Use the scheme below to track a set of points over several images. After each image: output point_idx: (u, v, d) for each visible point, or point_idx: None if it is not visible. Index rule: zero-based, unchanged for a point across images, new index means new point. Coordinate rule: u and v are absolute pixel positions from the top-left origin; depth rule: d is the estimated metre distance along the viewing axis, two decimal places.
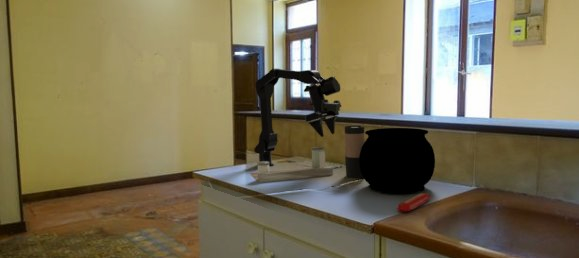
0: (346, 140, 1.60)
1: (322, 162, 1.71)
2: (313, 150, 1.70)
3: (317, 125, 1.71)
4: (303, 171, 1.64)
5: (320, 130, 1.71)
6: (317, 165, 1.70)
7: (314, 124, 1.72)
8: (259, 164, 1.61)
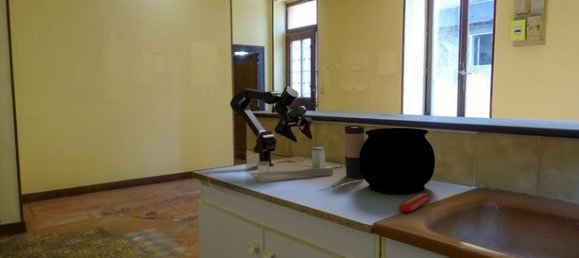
0: (346, 140, 1.60)
1: (322, 162, 1.71)
2: (313, 150, 1.70)
3: (288, 133, 1.75)
4: (303, 171, 1.64)
5: (292, 136, 1.74)
6: (317, 165, 1.70)
7: (285, 133, 1.76)
8: (259, 164, 1.61)
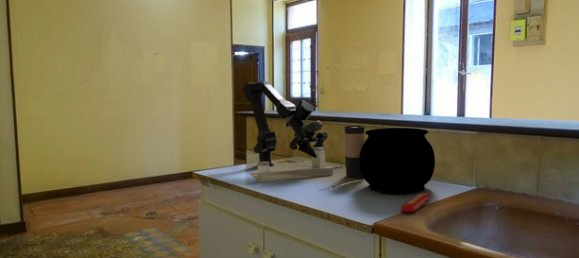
0: (346, 140, 1.60)
1: (322, 162, 1.71)
2: None
3: (307, 148, 1.71)
4: (303, 171, 1.64)
5: (311, 151, 1.69)
6: (317, 165, 1.70)
7: (304, 149, 1.71)
8: (259, 164, 1.61)
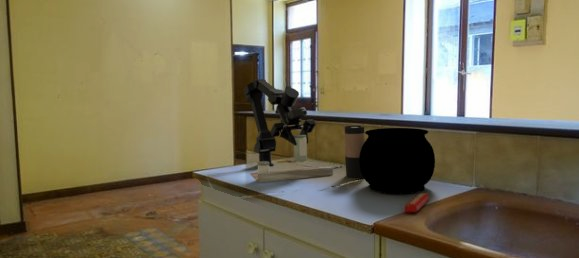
0: (346, 140, 1.60)
1: (303, 150, 1.65)
2: (294, 137, 1.66)
3: (288, 135, 1.67)
4: (303, 171, 1.64)
5: (291, 139, 1.65)
6: (297, 153, 1.65)
7: (286, 136, 1.68)
8: (259, 164, 1.61)
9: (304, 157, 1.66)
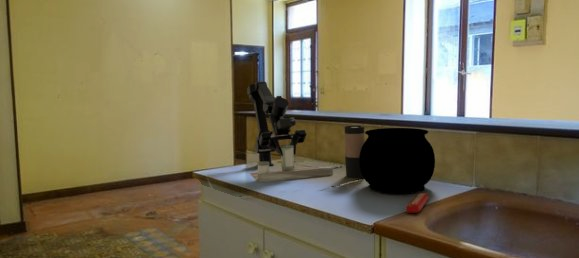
0: (346, 140, 1.60)
1: (289, 161, 1.64)
2: (281, 148, 1.65)
3: (276, 145, 1.66)
4: (303, 171, 1.64)
5: (278, 149, 1.65)
6: (283, 164, 1.64)
7: (274, 146, 1.67)
8: (259, 164, 1.61)
9: (290, 168, 1.64)
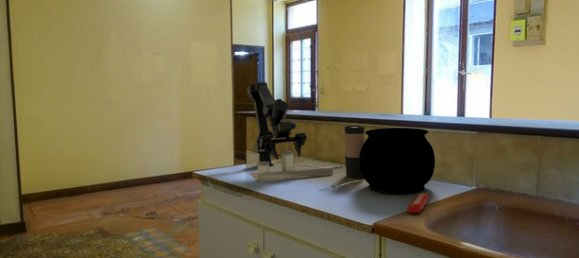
0: (346, 140, 1.60)
1: (289, 167, 1.64)
2: (281, 153, 1.65)
3: (271, 149, 1.66)
4: (303, 171, 1.64)
5: (273, 153, 1.64)
6: (284, 170, 1.65)
7: (269, 149, 1.67)
8: (259, 164, 1.61)
9: None
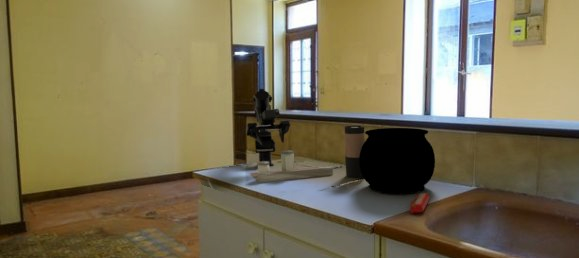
0: (346, 140, 1.60)
1: (289, 167, 1.64)
2: (281, 153, 1.65)
3: (256, 135, 1.77)
4: (303, 171, 1.64)
5: (258, 138, 1.76)
6: (284, 170, 1.65)
7: (255, 135, 1.78)
8: (259, 164, 1.61)
9: None
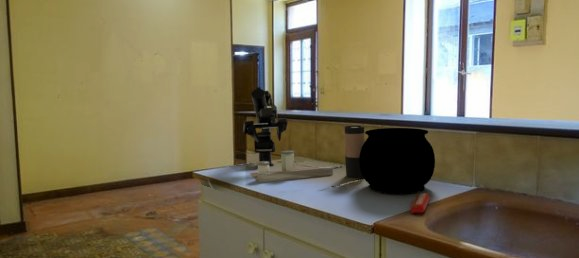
0: (346, 140, 1.60)
1: (289, 167, 1.64)
2: (281, 153, 1.65)
3: (253, 133, 1.78)
4: (303, 171, 1.64)
5: (255, 136, 1.76)
6: (284, 169, 1.65)
7: (252, 133, 1.79)
8: (259, 164, 1.61)
9: None
